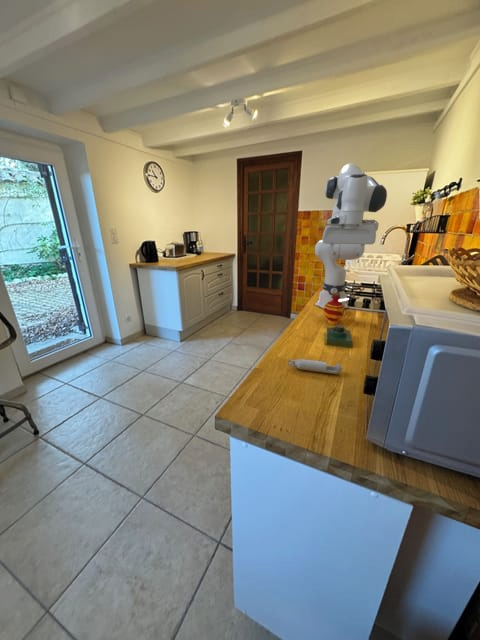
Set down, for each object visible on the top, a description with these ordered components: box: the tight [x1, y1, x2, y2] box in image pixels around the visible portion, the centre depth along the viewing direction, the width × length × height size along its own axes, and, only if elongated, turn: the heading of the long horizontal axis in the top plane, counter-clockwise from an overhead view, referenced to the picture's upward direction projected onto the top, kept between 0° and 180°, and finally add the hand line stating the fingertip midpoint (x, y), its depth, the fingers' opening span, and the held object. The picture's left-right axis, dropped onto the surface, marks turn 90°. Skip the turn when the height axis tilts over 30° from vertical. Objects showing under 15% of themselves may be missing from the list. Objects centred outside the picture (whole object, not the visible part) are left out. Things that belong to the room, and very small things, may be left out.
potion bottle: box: [322, 293, 345, 325], centre depth 127 cm, size 10×10×15 cm
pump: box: [334, 324, 345, 332], centre depth 109 cm, size 4×4×2 cm
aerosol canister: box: [287, 358, 342, 375], centre depth 88 cm, size 18×5×6 cm, turn 75°
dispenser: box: [325, 326, 353, 348], centre depth 110 cm, size 12×10×5 cm
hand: (345, 255), depth 106 cm, fingers open, 8 cm apart
